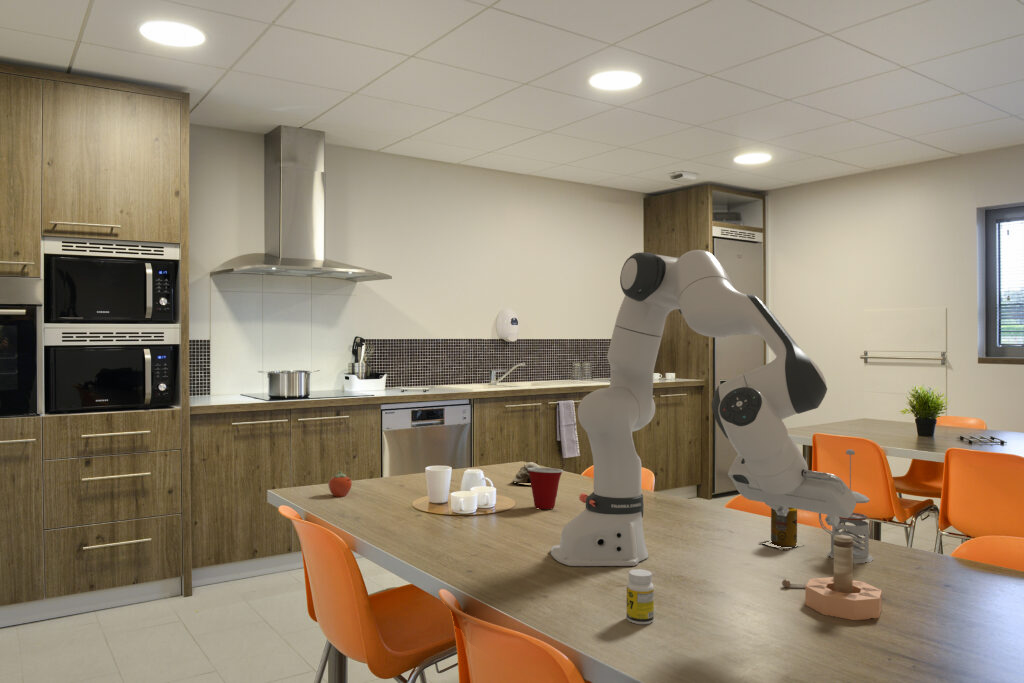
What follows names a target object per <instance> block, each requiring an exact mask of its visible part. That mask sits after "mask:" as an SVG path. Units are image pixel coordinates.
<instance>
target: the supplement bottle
mask: <svg viewBox="0 0 1024 683" xmlns="http://www.w3.org/2000/svg"><path fill="white" fill-rule="evenodd" d="M652 575H653V573H652V572H651V571H649V570H647V569H640V568H639V569H635V568H634V569H631V570H629V572H628V581H627V583H626V619H627V621H628V622H630V623H631V622H632V624H634V623H635V624H634V625H649V624H652V623H653V622H654V618H655V617H654V615H655V614H654V613H655V611H654V610H655V608H654V605H655V599H654V597H655V592H654V591H655V586H654V584H653V583H652V582H653V581H652V580H653V576H652ZM651 622H652V623H651Z"/></svg>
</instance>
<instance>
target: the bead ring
mask: <svg viewBox="0 0 1024 683" xmlns="http://www.w3.org/2000/svg"><path fill="white" fill-rule="evenodd" d="M806 584H807V585H806V588H805V597H804V598H805V603H804V605H805V606H807V607H809V608H811V609H813V610H814V609H815V610H814V611H816V612H818V613H820V614H822V615H824V616H829V615H830V617H834V616H835V618H840V619H845V620H846V619H847V620H851V621H860V620H861V621H862V620H871V619H870V618H874V619H880V617H881V614H880V613H882V611H883V610H882V609H883V591H882V590H881V589H879V588H878V587H875V586H873V585H871V584H868V583H866V582H865V581H861V580H855V579H854V580H853V593H852V594H847V593H841V592H835V591H834V576H831V577H830V576H829V577H827V576H826V577H819V578H818V577H815V578H814V577H813V578H810V579H809V580H808V582H807V583H806ZM879 616H880V617H879Z"/></svg>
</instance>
